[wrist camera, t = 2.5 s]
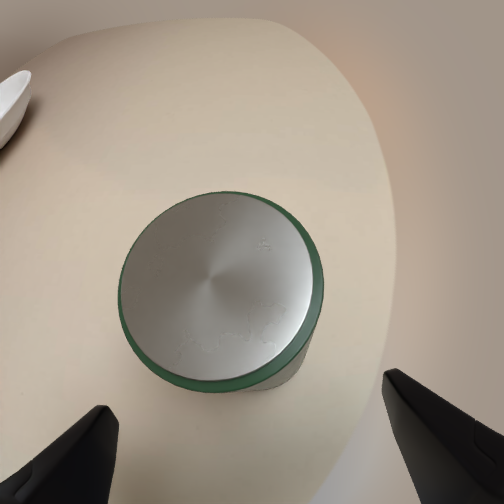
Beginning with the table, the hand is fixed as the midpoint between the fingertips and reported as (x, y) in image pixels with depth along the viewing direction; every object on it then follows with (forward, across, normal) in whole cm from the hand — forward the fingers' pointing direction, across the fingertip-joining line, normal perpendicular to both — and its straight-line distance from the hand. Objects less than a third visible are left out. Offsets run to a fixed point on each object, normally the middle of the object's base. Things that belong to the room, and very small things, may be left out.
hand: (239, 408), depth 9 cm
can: (+10, 0, +5) cm, 11 cm away
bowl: (+34, +37, -19) cm, 54 cm away
